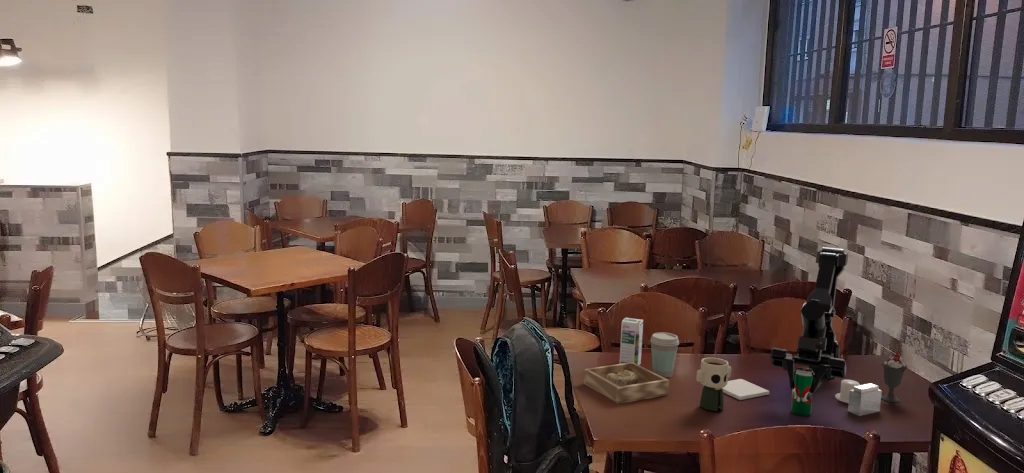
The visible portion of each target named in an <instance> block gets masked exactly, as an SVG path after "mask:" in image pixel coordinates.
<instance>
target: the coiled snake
mask: <svg viewBox="0 0 1024 473" xmlns="http://www.w3.org/2000/svg"><path fill="white" fill-rule="evenodd" d="M606 379H607V380H608V381H610V382H612V383H614V384H616V385H617V386H619V387H621V386H627V385H633V384H638V379H639V377H638V376H637V375H636V374H635V373H634V372H630V371H628V370H624V369H621V371H620V373H618V374H614V373H609V374H607V377H606Z"/></svg>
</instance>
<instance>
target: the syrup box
mask: <svg viewBox="0 0 1024 473" xmlns="http://www.w3.org/2000/svg"><path fill="white" fill-rule="evenodd" d="M620 328H621V329H620V350H619V361H618V362H619V363H618V364H622V363H629V362H634V363H636V364H638V365H640V366H641V362H642V351H643V350H642V348H643V331H644V319H640V318H632V317H624V318H623V319H622V320H621V327H620Z"/></svg>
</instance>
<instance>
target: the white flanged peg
mask: <svg viewBox="0 0 1024 473" xmlns="http://www.w3.org/2000/svg"><path fill="white" fill-rule="evenodd" d="M859 385H860V383H859V381H856V380H852V379H842V380H841V381H840V392H839V393H836V394H835V395H834V398H835V399H836V400H837V401H840V402H842V403H846V404H849V394H850V390H853V389H854V386H859Z"/></svg>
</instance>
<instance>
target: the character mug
mask: <svg viewBox="0 0 1024 473" xmlns="http://www.w3.org/2000/svg"><path fill="white" fill-rule="evenodd" d="M731 375H732V367H731V365H729V361H728V360H725V359H722V358H718V357H705V358H701V360H700V369H698V370H696V382H699V383H700V384H701V385H703V387H702V391H701V395H700V400H699V406H701V407H702V408H704V409H705V410H708V411H716V412H717V411H718V408H719V409H720V411H723V410H724V409H725V408H724V405H725V403H724V399H725V398H724V392H723V389H722V388H724V387H725V386H726V385H727V383H728V381H729V379H730V378H731Z"/></svg>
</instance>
